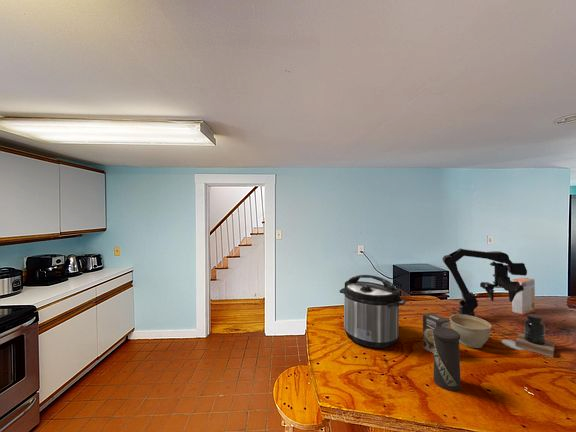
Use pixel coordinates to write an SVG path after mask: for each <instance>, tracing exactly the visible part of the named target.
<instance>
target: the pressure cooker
mask: <svg viewBox="0 0 576 432" xmlns="http://www.w3.org/2000/svg"><path fill="white" fill-rule="evenodd" d="M362 278H363V279H368V278H369V279H374V280H376V281H372V280H371V281H369V280H367V281H366V280H360V279H362ZM339 293H340V294H343V297H344V299H343V301H344V302H343V305H344V306H343V307H344V308H343V309H344V311H343V329H344V331H345V334H346V336H349V337H350V338H351V340H353V341H354V343H357V344H359V345H362V346H366V347H368V348H369V347H370V348H388V347H390V346H391V347H392V346H393V345H394V344H396V342H397V341H398V339H399V335H400V334H399V331H400V330H399V329H400V328H399V324H400V323H399V322H400V321H399V319H400V318H399V316H400V315H399V314H400V313H399V312H400V310H399V309H400V308H399V307H400V306H405V304H406V302H407V301H406V299H404V298H401V289H400V288H397V287H396V286H395V284H393V283H392V282H391V281H389V280H388V279H385V278H383V277H379V276H376V275H373V274H371V275H370V274H359V275H355V276H351V278H349V279H348V280H346V281H345V282H344V287H343V288H341V289H340V290H339Z"/></svg>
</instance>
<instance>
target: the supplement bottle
mask: <svg viewBox="0 0 576 432" xmlns="http://www.w3.org/2000/svg"><path fill="white" fill-rule="evenodd" d="M523 325H524V326H523V327H524V328H523V329H524V330H523V334H524V338H525V340H527V341H528V342H531V343H534V344H538V345H543V344H545V340H546V326H545V324H544V323H543V320H542V317H541V316H540V315H537V314H532V313H528V314H526V319H525V320H524V322H523Z"/></svg>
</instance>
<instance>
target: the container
mask: <svg viewBox="0 0 576 432" xmlns="http://www.w3.org/2000/svg"><path fill="white" fill-rule="evenodd" d="M433 334H434V354H433V381H434V383H435V384H436V385H437V386H439V387H440V388H441V389H445V390H448V391H452V392H453V391H454V392H455V391H459V390H460V389H461V387H462V386H461V383H462V382H461V364H460V363H461V359H460V342H459V340H460V334H459V333H458V332H457V331H455V330H453V329H452V328H451V327H450V328H446V327H436V328H434V329H433Z"/></svg>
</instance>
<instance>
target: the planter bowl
mask: <svg viewBox="0 0 576 432" xmlns="http://www.w3.org/2000/svg"><path fill="white" fill-rule="evenodd" d="M449 320H450V329H453V330H455V331H457V332H458V333H459V334H460V340H459V344H461V345H463V346H465V347H469V348H472V349H481V348H483V347H484V344H486V342H487V341H488V340H489V338H490V335H491V332H492V331H491V330H492V324H491V323H490V322H488V321H487V320H485V319H483V318H480V317H477V316H475V317H474V316H468V315H459V314H453V315H452V314H451V316H449Z"/></svg>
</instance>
